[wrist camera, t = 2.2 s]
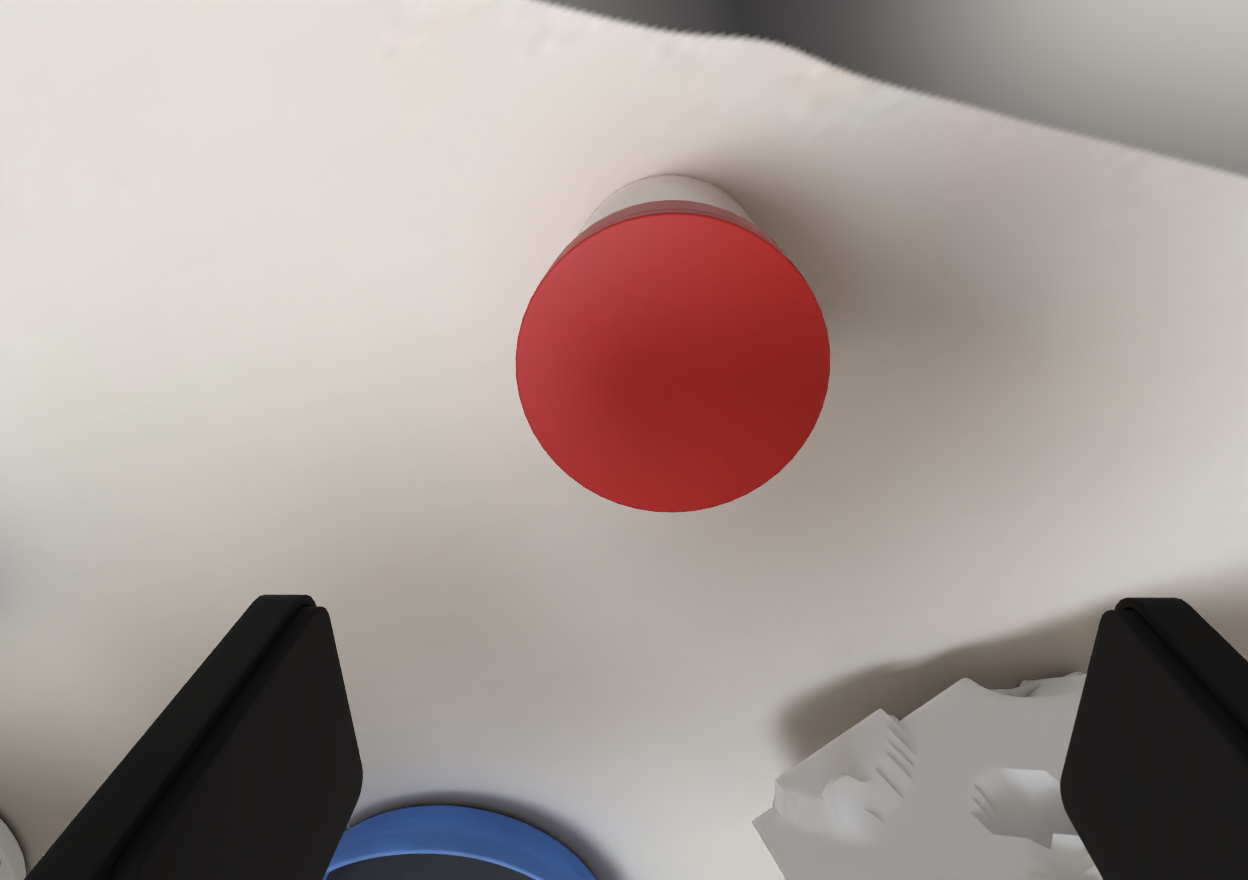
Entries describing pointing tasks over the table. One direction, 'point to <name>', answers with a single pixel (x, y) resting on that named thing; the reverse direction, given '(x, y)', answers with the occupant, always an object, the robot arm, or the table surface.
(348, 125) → the table surface
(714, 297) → the lid
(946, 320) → the table surface
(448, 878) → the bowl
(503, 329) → the table surface
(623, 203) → the jar
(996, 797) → the jagged white slab
